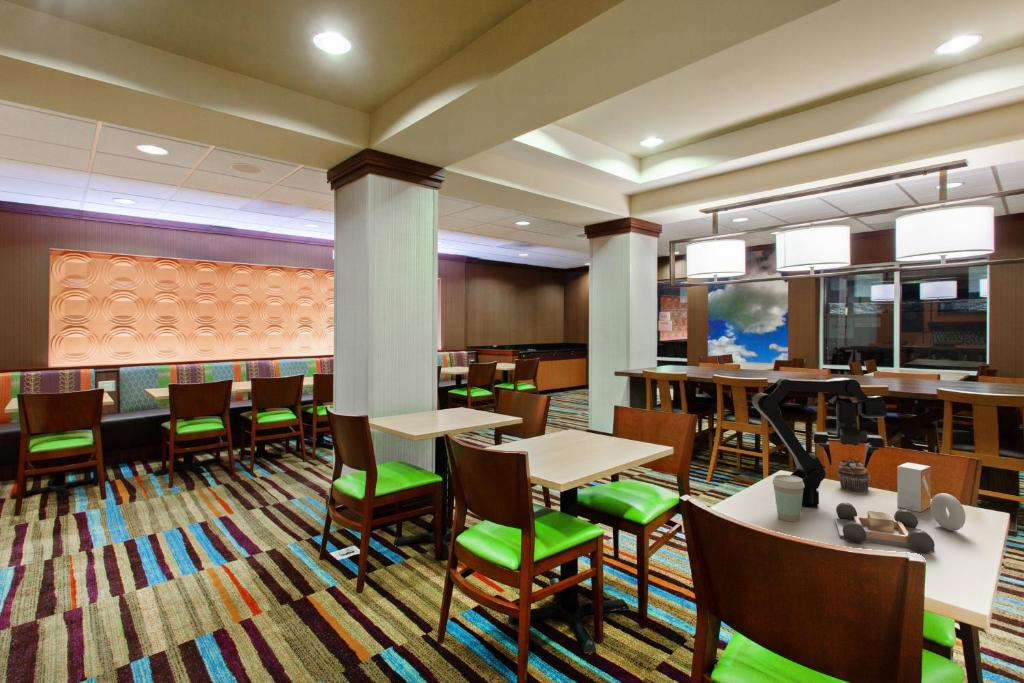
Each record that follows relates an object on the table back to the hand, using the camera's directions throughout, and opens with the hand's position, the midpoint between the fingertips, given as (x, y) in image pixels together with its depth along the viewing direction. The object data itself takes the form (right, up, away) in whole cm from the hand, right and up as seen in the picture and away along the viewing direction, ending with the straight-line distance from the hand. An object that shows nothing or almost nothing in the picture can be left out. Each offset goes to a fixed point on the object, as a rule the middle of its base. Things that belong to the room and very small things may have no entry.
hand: (847, 466), depth 162 cm
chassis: (-6, -13, -23) cm, 28 cm away
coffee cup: (-24, -13, -10) cm, 29 cm away
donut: (+14, -13, -21) cm, 28 cm away
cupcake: (+14, -12, +17) cm, 25 cm away
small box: (+19, -12, -3) cm, 23 cm away
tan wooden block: (-6, -12, -23) cm, 27 cm away
